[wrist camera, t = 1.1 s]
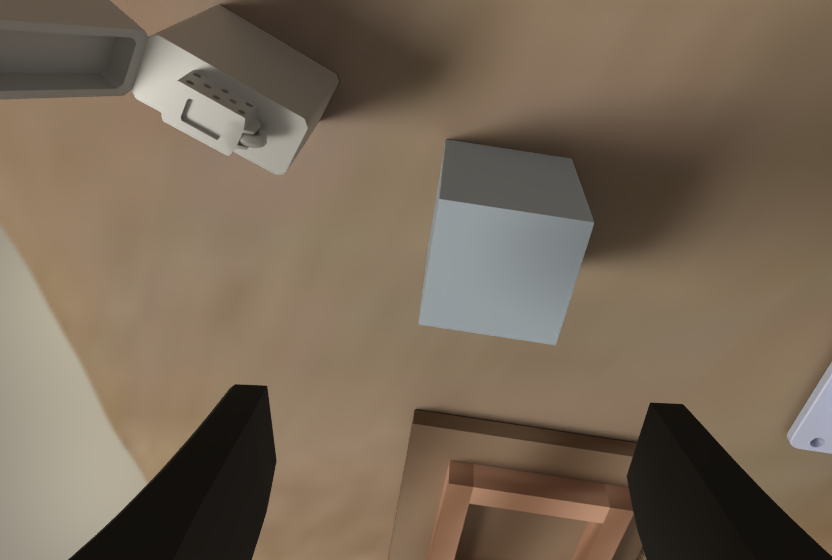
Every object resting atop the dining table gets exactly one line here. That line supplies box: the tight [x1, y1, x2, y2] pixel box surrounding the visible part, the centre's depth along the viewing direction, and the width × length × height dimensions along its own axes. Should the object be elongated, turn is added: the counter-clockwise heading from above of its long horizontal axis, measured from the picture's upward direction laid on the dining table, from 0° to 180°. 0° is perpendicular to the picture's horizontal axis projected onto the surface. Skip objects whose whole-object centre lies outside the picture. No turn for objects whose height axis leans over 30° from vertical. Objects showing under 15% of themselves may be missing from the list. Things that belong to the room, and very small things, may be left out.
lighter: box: [0, 0, 339, 175], centre depth 15 cm, size 7×2×8 cm, turn 60°
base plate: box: [388, 410, 643, 560], centre depth 28 cm, size 11×11×2 cm
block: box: [419, 139, 594, 345], centre depth 19 cm, size 4×4×4 cm
